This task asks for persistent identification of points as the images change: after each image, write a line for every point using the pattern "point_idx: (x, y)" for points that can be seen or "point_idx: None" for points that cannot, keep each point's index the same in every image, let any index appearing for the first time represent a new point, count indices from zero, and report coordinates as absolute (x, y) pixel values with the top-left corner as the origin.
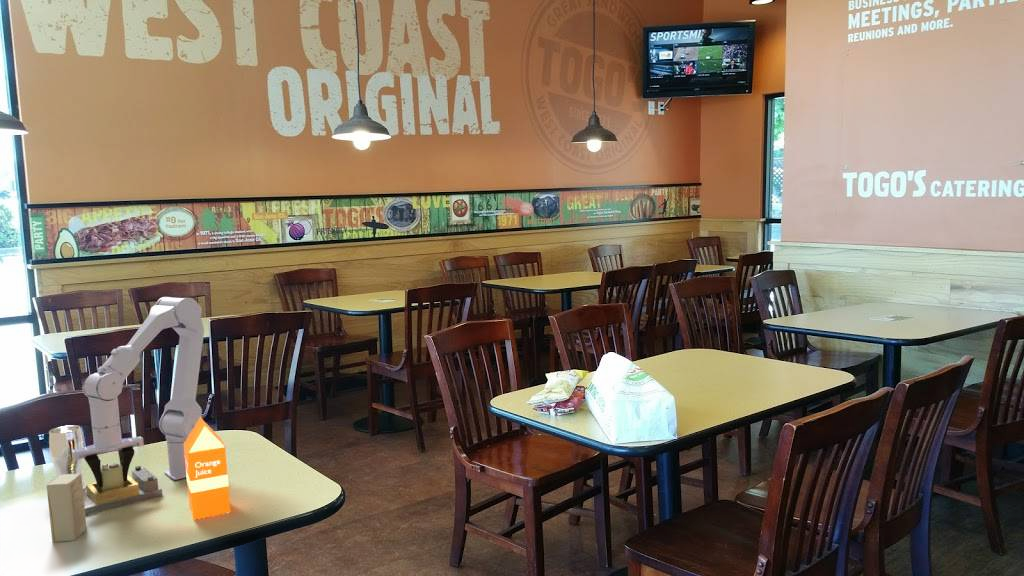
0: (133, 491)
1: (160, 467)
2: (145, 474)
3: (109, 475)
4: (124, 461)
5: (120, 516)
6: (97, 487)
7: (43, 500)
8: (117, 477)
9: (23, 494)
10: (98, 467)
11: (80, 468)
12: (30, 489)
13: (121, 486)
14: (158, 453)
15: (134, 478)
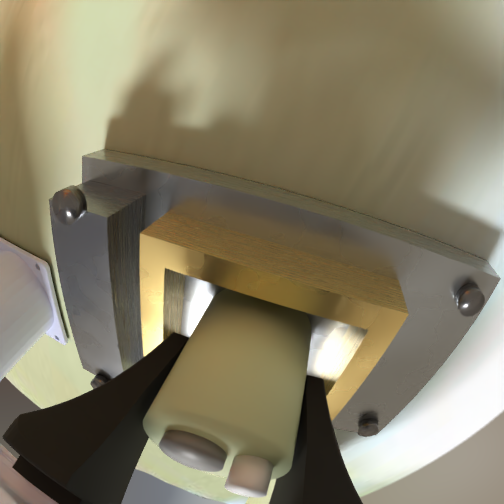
0: (189, 226)
1: (78, 377)
2: (84, 310)
3: (267, 401)
4: (109, 428)
5: (382, 44)
6: None
7: (377, 453)
8: (220, 359)
9: (360, 485)
10: (318, 495)
11: (262, 499)
12: None
13: (220, 310)
14: None
15: (135, 352)
